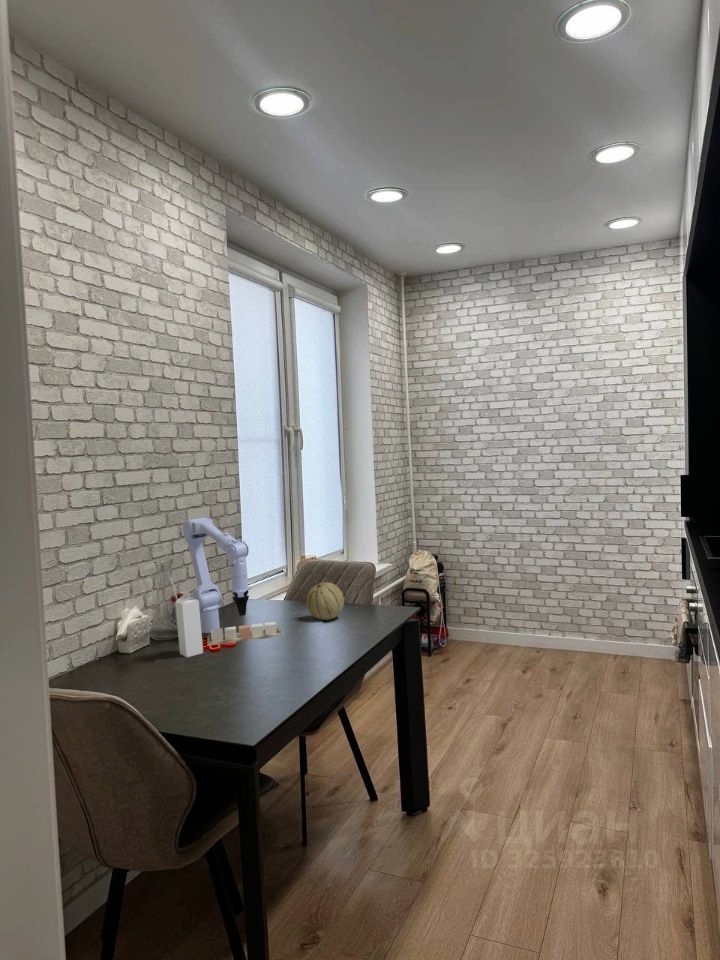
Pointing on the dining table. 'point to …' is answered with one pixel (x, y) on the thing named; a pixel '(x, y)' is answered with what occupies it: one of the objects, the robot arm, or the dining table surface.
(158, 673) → the dining table surface
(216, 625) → the robot arm
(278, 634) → the rack
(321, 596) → the cantaloupe
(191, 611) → the milk
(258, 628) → the cream block
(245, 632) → the block terracotta
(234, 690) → the dining table surface
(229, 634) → the cream block
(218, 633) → the cream block
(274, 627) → the cream block
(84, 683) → the dining table surface
